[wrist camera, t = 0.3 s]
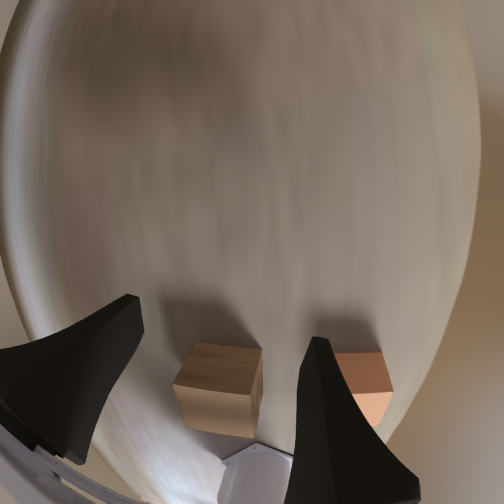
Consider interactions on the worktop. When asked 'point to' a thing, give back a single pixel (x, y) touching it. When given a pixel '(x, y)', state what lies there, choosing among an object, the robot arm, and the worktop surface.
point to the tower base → (230, 358)
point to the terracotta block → (367, 382)
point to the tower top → (218, 398)
